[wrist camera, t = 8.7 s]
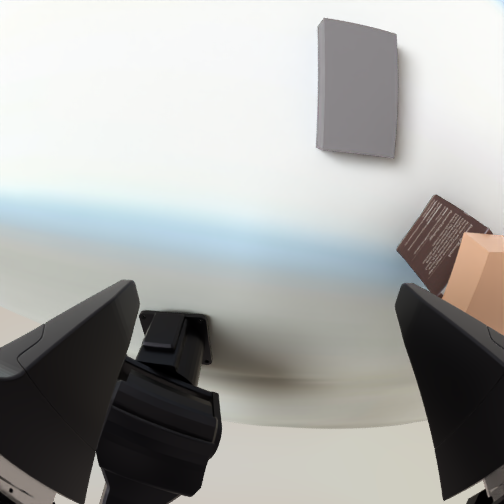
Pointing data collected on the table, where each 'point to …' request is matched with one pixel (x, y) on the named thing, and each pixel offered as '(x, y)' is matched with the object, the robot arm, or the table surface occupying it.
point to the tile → (479, 279)
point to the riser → (357, 89)
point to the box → (437, 242)
